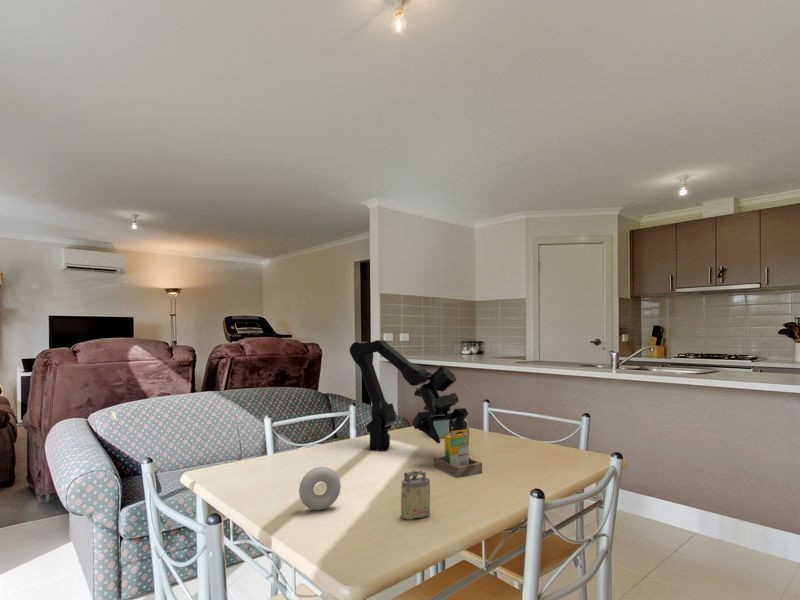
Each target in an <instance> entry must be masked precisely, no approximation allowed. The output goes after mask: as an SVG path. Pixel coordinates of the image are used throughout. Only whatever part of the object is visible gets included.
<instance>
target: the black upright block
mask: <svg viewBox="0 0 800 600" xmlns="http://www.w3.org/2000/svg"><path fill="white" fill-rule="evenodd" d="M469 424H470V423H469V421H468V420H467V419H466V418H465V419H464V421H463V430H464V429H469V430H470V425H469ZM452 425H453V424H452V423H451V422H450V420H449V426H448V434H450V432H451V431H455V430H454V429H453V427H452ZM456 434H457V433H456ZM468 436H469V437H470V434H469V435H468Z"/></svg>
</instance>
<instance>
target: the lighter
mask: <svg viewBox="0 0 800 600" xmlns="http://www.w3.org/2000/svg"><path fill="white" fill-rule="evenodd" d="M403 473H404V474H403V476H404V477H403V478H404V479H403V480H402V481H401V487H400V488H401V489H400V491H401V493H400V495H401V496H400V497H401V499H400V502H401V503H400V505H401V508H400V509H401V512H400V513H401V514H400V518H402V519H403V518H405V519H404V520H414V519H413V518H420V519H421V517H422V518H426V517H425V516H427V517H429V516H430V515H431V484H430V481H431V480H430V478H428V477H426V475H427V473H426V472H425V471H423V470H416V469H413V470H411V471H408V472H407V471H405V472H403ZM419 475H421V476H422V477H421V476H420V477H418V476H419Z"/></svg>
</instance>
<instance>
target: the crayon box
mask: <svg viewBox="0 0 800 600" xmlns="http://www.w3.org/2000/svg"><path fill="white" fill-rule="evenodd" d="M458 432H463V433H462V434H456V433H458ZM468 435H469V436H468ZM469 445H470V428H469V429H464V430H458V431H451V432H450V433H449V435H447V436H445V437H444V456H445V462H447V463H449V464H452V465H454V466H456V467H459V466H464V465H469V458H470V457H469V456H470V455H469V454H470V453H469V451H470V448H469Z"/></svg>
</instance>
